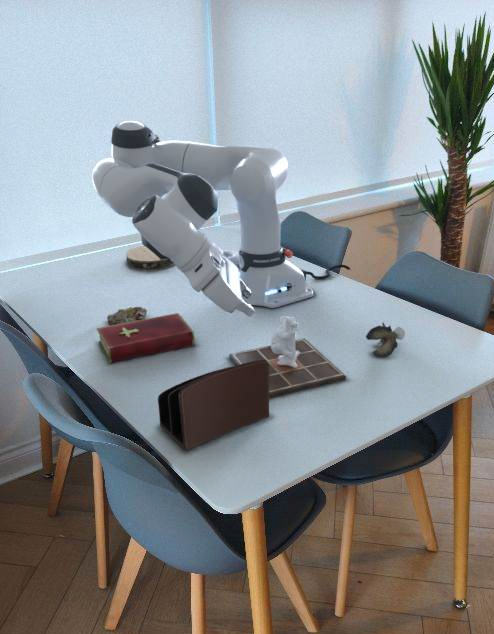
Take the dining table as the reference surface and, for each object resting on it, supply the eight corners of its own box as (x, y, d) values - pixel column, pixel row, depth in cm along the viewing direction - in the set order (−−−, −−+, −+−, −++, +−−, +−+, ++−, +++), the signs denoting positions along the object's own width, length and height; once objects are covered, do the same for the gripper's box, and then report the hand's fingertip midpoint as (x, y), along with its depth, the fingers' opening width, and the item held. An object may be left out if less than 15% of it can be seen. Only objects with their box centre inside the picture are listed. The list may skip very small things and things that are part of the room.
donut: (237, 257, 202) (208, 260, 200) (237, 247, 201) (208, 249, 198) (245, 267, 194) (215, 270, 192) (245, 257, 193) (215, 259, 190)
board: (304, 342, 150) (304, 337, 149) (345, 380, 135) (346, 375, 134) (229, 358, 143) (229, 353, 142) (264, 399, 128) (264, 394, 127)
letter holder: (270, 417, 122) (270, 355, 115) (185, 452, 113) (179, 388, 105) (242, 395, 129) (241, 336, 121) (159, 427, 119) (152, 365, 112)
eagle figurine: (372, 333, 152) (357, 340, 144) (391, 313, 147) (377, 320, 140) (392, 355, 150) (379, 364, 143) (412, 336, 146) (400, 344, 139)
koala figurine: (306, 369, 136) (308, 320, 130) (277, 373, 135) (278, 324, 128) (295, 352, 143) (297, 305, 136) (268, 355, 142) (268, 308, 135)
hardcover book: (195, 346, 148) (194, 330, 146) (110, 364, 141) (107, 348, 139) (179, 326, 158) (178, 312, 155) (98, 342, 150) (96, 327, 148)
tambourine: (185, 258, 201) (184, 250, 199) (154, 273, 190) (153, 264, 188) (148, 250, 208) (148, 242, 206) (116, 264, 197) (115, 255, 195)
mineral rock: (140, 301, 165) (148, 304, 158) (143, 317, 167) (151, 320, 160) (101, 310, 161) (108, 314, 154) (105, 326, 163) (112, 330, 156)
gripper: (193, 255, 134) (238, 295, 140) (191, 291, 117) (243, 334, 123) (213, 235, 132) (257, 276, 138) (213, 268, 115) (265, 314, 121)
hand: (250, 304), depth 130 cm, fingers open, 8 cm apart
